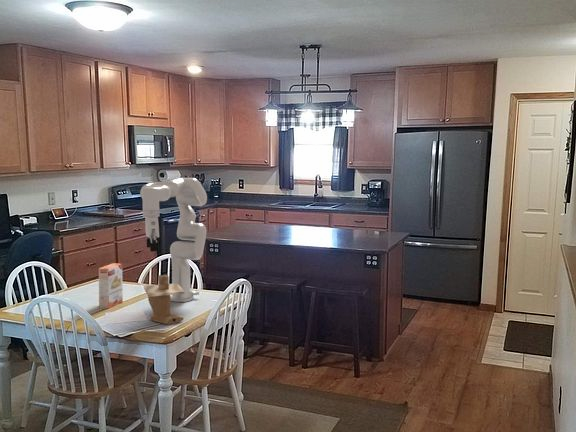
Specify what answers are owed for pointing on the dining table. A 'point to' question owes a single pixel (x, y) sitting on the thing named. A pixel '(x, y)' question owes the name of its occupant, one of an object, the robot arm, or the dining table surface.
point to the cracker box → (110, 285)
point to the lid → (163, 287)
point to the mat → (125, 316)
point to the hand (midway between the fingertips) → (152, 249)
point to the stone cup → (163, 310)
